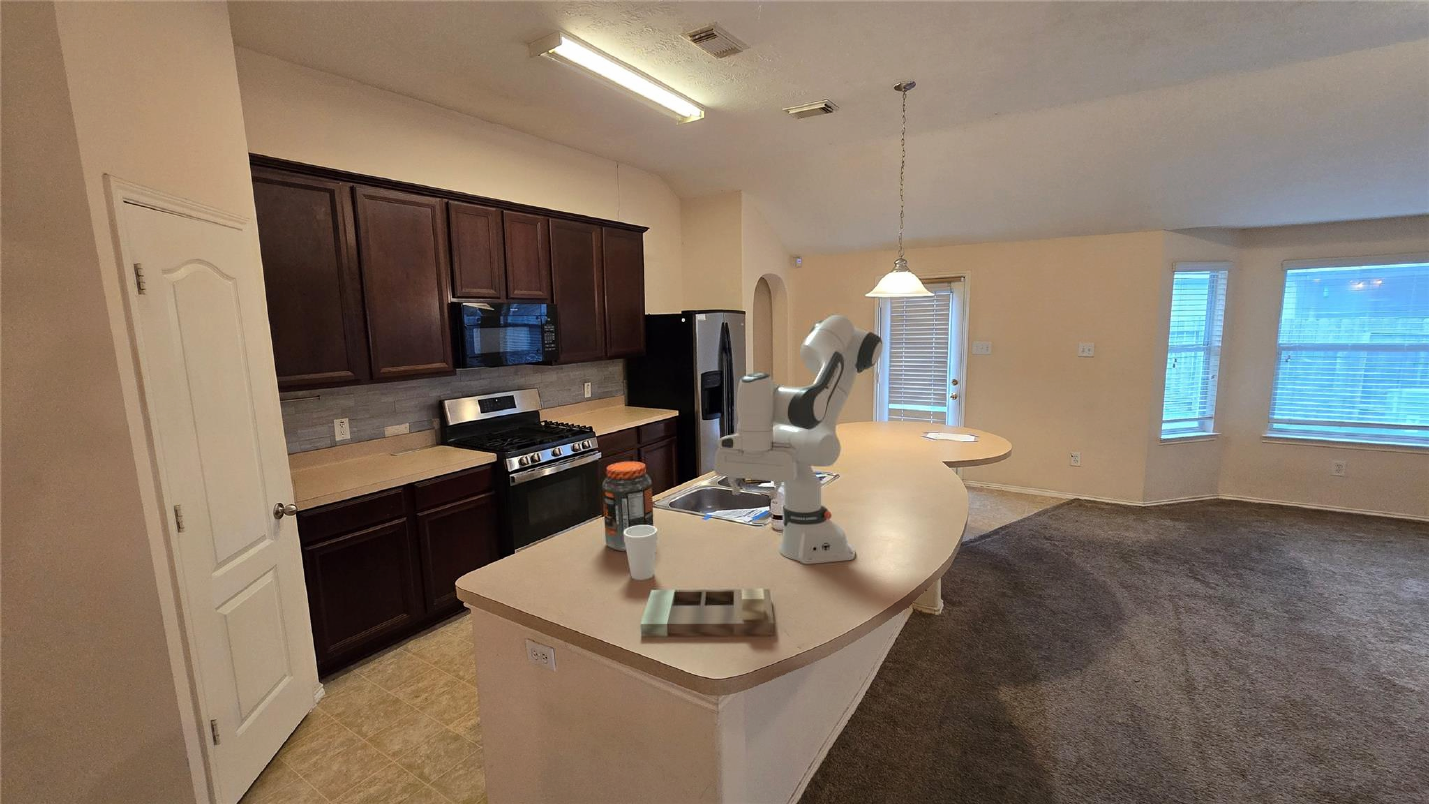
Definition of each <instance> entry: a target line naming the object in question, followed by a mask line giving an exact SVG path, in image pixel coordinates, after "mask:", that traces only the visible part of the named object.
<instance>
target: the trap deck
mask: <svg viewBox="0 0 1429 804" xmlns="http://www.w3.org/2000/svg"><path fill="white" fill-rule="evenodd" d="M742 589H743V588H741V589H740V588H739V589H734V588H733V589H730V588H729V589H728V588H727V589H725V588H723V589H651V590H650V594H649V596H648V600H647V603H646V605H645V609H644V612H643V615H642V618H641V622H640V637H768V636H767V635H770V636H769V637H773V636H772V635H774V636H775V622H774V614H773V606H772V598H771V589H770V588H763V592H764V618H765V620H742ZM763 635H765V636H763Z"/></svg>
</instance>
